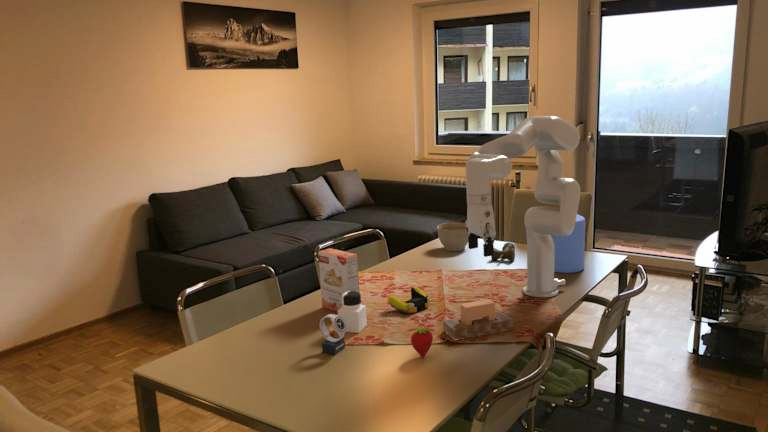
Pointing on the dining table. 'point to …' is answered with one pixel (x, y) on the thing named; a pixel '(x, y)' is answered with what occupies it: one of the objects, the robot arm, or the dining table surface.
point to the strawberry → (422, 340)
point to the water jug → (570, 249)
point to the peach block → (477, 311)
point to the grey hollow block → (478, 326)
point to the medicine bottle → (353, 312)
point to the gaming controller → (411, 302)
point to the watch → (333, 343)
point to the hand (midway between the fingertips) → (480, 251)
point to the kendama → (505, 252)
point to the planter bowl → (453, 236)
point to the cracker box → (337, 276)
